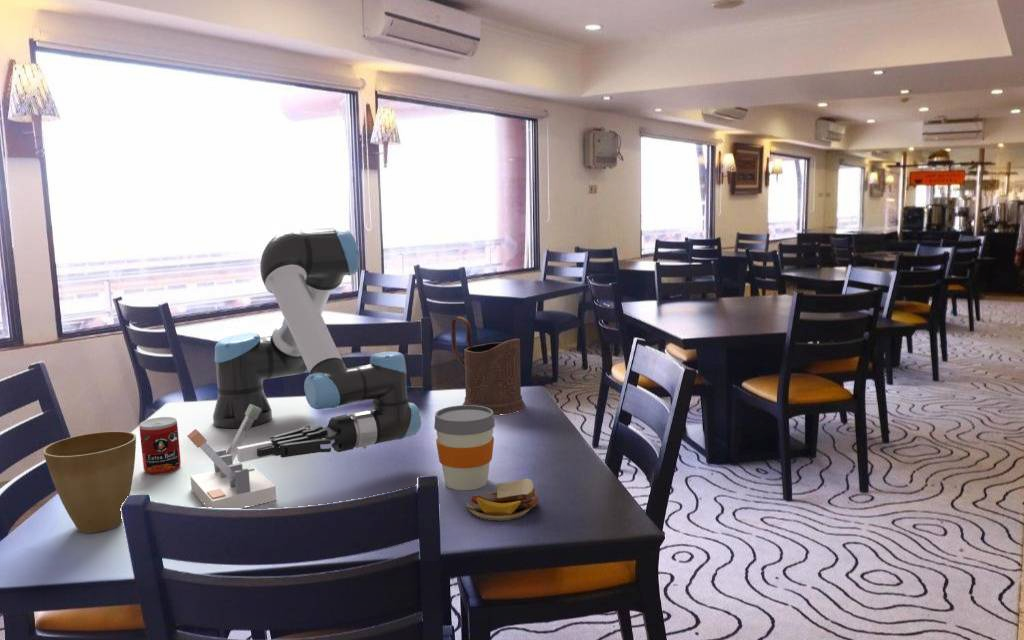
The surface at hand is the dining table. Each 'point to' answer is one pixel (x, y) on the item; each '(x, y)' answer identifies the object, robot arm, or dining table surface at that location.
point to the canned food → (160, 445)
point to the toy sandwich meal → (505, 501)
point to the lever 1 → (211, 454)
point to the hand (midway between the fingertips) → (238, 454)
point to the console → (232, 486)
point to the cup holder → (491, 373)
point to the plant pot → (93, 476)
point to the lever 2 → (244, 429)
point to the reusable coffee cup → (465, 445)
